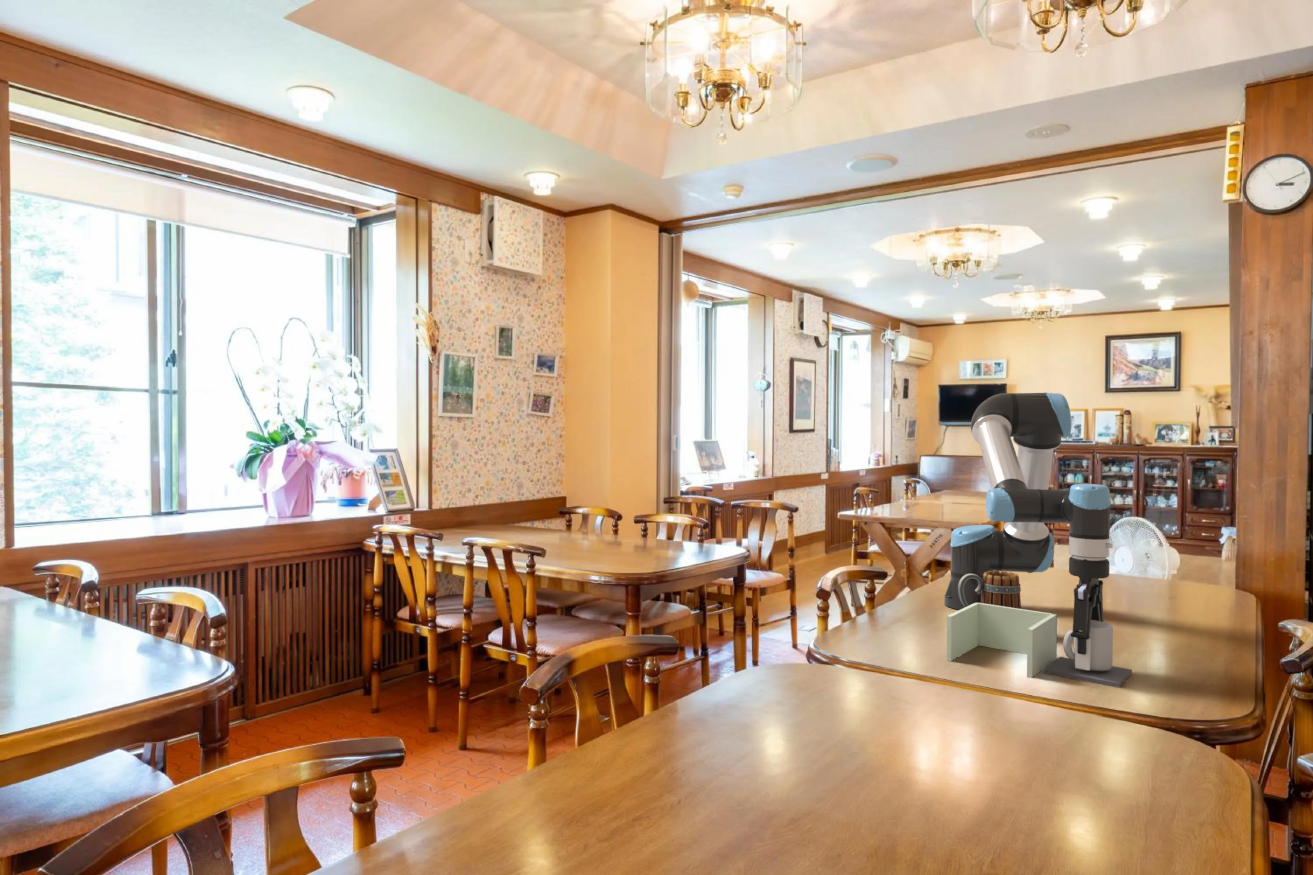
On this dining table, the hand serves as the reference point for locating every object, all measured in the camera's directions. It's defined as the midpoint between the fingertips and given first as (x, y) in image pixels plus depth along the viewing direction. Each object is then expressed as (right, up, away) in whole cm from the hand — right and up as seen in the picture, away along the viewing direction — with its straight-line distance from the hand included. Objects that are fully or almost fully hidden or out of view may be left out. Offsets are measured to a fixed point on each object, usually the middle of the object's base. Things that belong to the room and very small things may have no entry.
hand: (1088, 663), depth 168 cm
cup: (-1, -1, 0) cm, 1 cm away
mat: (0, -2, 0) cm, 2 cm away
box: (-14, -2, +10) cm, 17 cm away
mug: (-7, -2, +33) cm, 34 cm away
